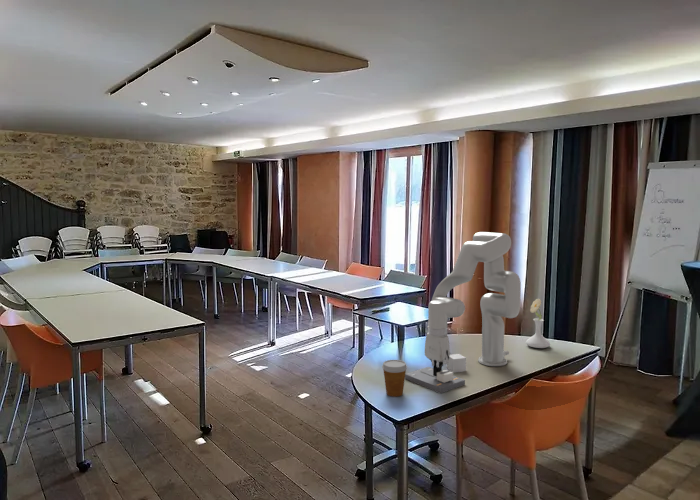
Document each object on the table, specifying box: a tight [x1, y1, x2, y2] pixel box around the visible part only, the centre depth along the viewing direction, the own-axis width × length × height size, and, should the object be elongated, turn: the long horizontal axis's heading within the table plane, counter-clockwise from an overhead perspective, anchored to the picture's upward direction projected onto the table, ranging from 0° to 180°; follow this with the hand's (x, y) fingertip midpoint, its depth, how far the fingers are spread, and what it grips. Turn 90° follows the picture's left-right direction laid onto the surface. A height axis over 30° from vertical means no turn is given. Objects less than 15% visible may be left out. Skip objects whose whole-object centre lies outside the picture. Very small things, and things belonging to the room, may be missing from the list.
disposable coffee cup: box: [381, 359, 408, 398], centre depth 193 cm, size 10×10×12 cm
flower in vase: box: [525, 298, 551, 349], centre depth 249 cm, size 13×11×25 cm
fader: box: [437, 369, 454, 383], centre depth 201 cm, size 5×4×3 cm
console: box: [405, 366, 466, 394], centre depth 206 cm, size 14×20×2 cm
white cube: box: [446, 353, 467, 374], centre depth 219 cm, size 6×6×6 cm
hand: (437, 375), depth 204 cm, fingers closed
